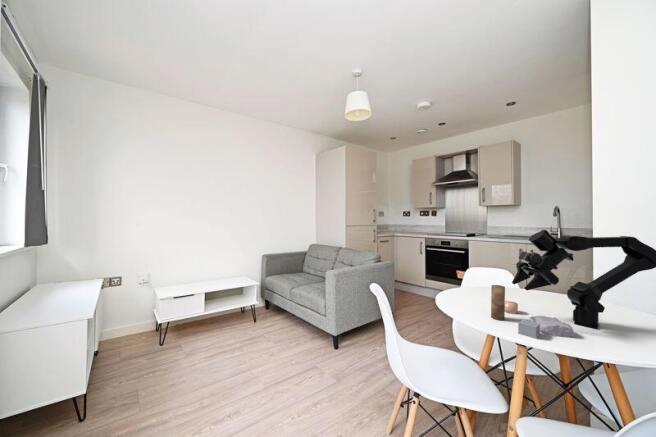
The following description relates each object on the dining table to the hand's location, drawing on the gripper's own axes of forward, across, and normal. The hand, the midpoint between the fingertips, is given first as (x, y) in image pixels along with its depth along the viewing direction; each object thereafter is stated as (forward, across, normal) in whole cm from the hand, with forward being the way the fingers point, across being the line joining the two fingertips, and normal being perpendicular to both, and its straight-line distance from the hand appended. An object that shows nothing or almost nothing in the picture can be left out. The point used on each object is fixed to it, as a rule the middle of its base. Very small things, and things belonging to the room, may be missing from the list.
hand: (518, 286), depth 105 cm
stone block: (+6, +8, +14) cm, 17 cm away
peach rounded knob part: (+8, -9, +11) cm, 16 cm away
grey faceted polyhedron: (+12, +14, +7) cm, 20 cm away
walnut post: (+15, 0, +4) cm, 15 cm away
